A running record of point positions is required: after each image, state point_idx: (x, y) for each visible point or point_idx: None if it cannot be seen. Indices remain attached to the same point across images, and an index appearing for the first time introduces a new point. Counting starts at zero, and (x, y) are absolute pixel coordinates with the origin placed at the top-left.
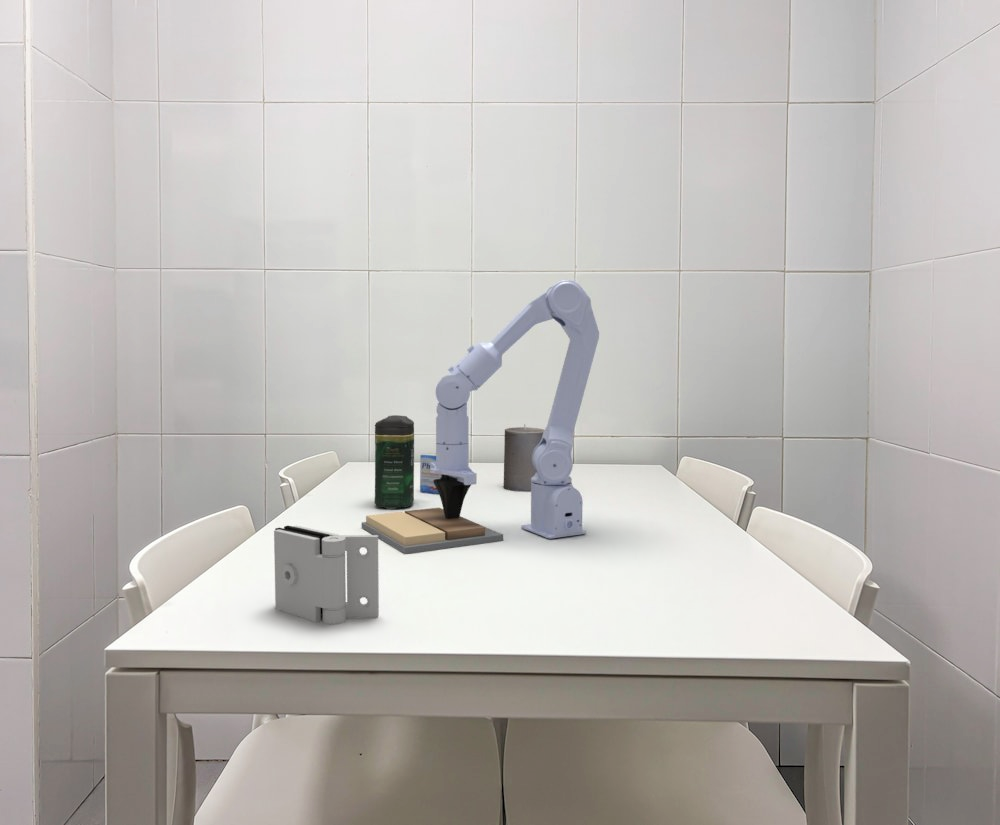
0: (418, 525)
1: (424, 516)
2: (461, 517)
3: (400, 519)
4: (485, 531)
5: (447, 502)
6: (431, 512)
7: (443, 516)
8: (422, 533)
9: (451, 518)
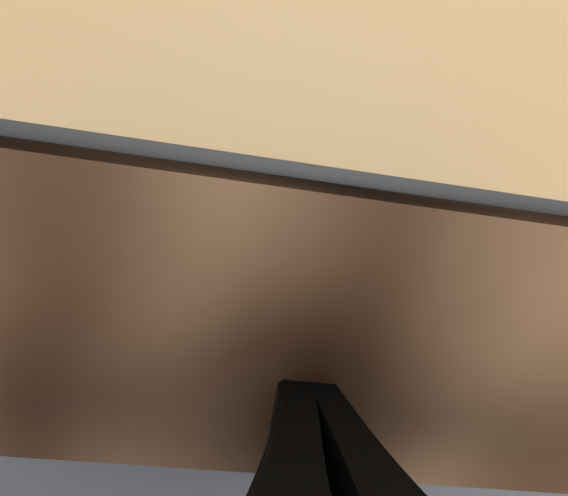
0: (230, 40)
1: (480, 278)
2: None
3: (555, 38)
4: None
5: (254, 477)
6: (547, 388)
7: (378, 391)
8: None
9: (275, 400)
